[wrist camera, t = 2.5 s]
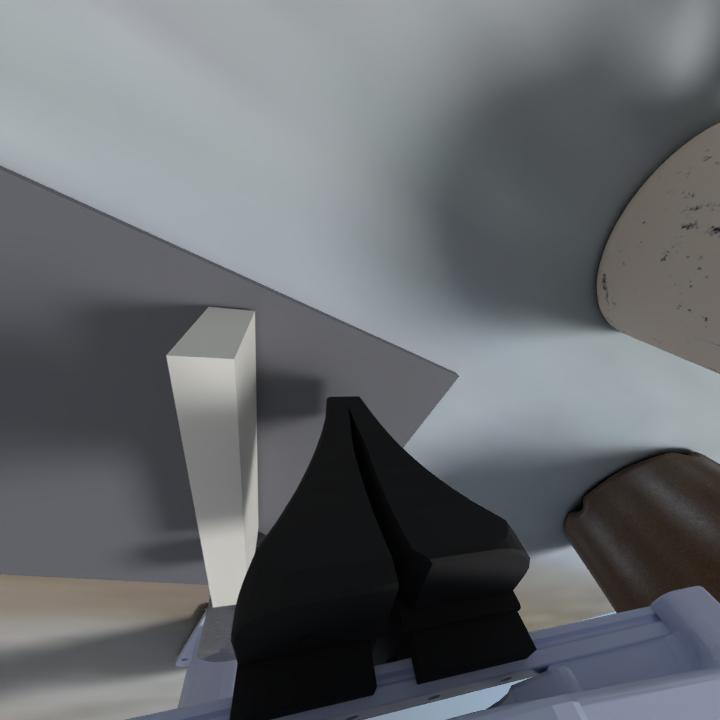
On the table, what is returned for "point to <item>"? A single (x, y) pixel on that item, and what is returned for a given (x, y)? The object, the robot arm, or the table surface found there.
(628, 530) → the plant pot
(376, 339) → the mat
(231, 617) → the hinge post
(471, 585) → the robot arm
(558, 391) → the table surface
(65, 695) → the table surface
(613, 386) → the table surface
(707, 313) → the teacup with lid
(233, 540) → the white long block
